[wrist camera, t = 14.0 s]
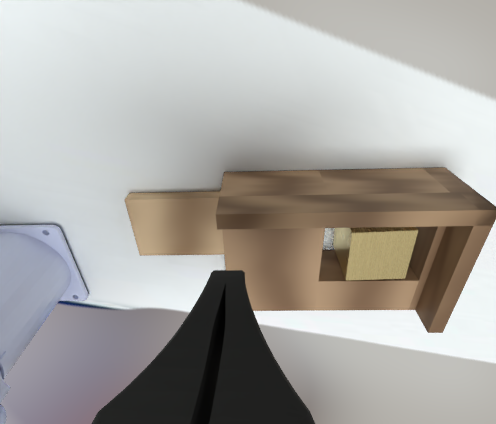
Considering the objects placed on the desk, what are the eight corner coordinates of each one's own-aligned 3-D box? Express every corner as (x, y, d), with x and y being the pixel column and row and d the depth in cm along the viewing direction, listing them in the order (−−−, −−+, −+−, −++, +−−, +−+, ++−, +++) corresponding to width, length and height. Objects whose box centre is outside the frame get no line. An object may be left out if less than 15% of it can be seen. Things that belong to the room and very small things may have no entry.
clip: (345, 280, 21) (405, 278, 21) (351, 233, 19) (418, 230, 19) (332, 244, 25) (384, 242, 24) (337, 201, 22) (393, 198, 22)
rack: (152, 279, 27) (130, 333, 22) (124, 174, 22) (88, 216, 17) (408, 276, 26) (442, 332, 21) (445, 167, 21) (499, 209, 16)
